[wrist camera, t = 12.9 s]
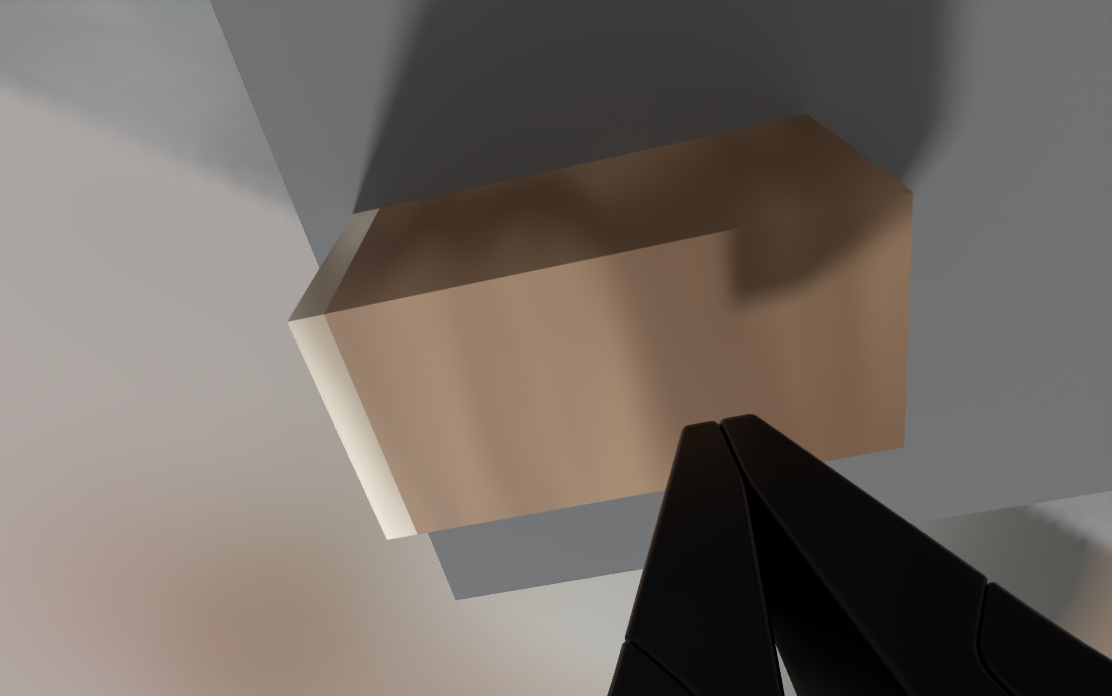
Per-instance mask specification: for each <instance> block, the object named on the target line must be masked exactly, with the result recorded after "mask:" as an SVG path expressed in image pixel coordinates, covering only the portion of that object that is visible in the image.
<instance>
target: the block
mask: <svg viewBox="0 0 1112 696" xmlns="http://www.w3.org/2000/svg"><path fill="white" fill-rule="evenodd" d="M912 213H913V191H911V190H910V189H908V188H907V187H906V186H904V185H903V184H902V183H900V182H899V181H898V180H896V179H895V178H893V177H892V176H891V175H889V174H888V173H887V172H885V171H884V170H883V169H881V168H880V167H878V166H877V165H876V164H874V163H873V162H872V161H870V160H869V159H868V158H866V157H865V156H863V155H862V154H861V153H859V152H858V151H857V150H855V149H854V148H853V147H851V146H850V145H848V144H847V143H846V142H844V141H843V140H842V139H840V138H839V137H838V136H836V135H835V134H833V133H832V132H831V131H829V130H828V129H827V128H825V127H824V126H823V125H821V124H820V123H818V122H817V121H816V120H814V119H813V118H812V117H810V116H809V115H808V114H807V115H803V116H798V117H794V118H789V119H784V120H780V121H775V122H771V123H766V124H762V125H757V126H753V127H748V128H743V129H739V130H734V131H730V132H725V133H721V134H716V135H711V136H707V137H702V138H698V139H693V140H689V141H684V142H679V143H675V144H670V145H666V146H661V147H657V148H652V149H648V150H643V151H638V152H634V153H629V154H625V155H620V156H616V157H611V158H606V159H602V160H597V161H593V162H588V163H584V164H579V165H574V166H570V167H565V168H561V169H556V170H552V171H547V172H542V173H538V174H533V175H529V176H524V177H520V178H515V179H511V180H506V181H501V182H497V183H492V184H488V185H483V186H479V187H474V188H469V189H465V190H460V191H456V192H451V193H447V194H442V195H437V196H433V197H428V198H424V199H419V200H415V201H410V202H406V203H401V204H396V205H392V206H387V207H383V208H378V209H374V210H369V211H364V212H360V213H355V214H352V216H351V217H350V219H349V221H348V222H347V224H346V226H345V227H344V229H343V231H342V232H341V234H340V236H339V237H338V239H337V241H336V242H335V244H334V245H333V247H332V249H331V250H330V252H329V254H328V255H327V257H326V259H325V260H324V262H323V264H322V265H321V267H320V269H319V270H318V272H317V274H316V275H315V277H314V279H313V280H312V282H311V284H310V285H309V287H308V289H307V290H306V292H305V294H304V295H303V297H302V298H301V300H300V302H299V303H298V305H297V307H296V308H295V310H294V312H293V313H292V315H291V317H290V318H289V320H288V325H289V327H290V329H291V331H292V333H293V336H294V338H295V340H296V342H297V344H298V347H299V349H300V351H301V353H302V355H303V357H304V360H305V361H306V364H307V366H308V368H309V371H310V373H311V375H312V377H313V379H314V381H315V384H316V386H317V388H318V390H319V392H320V395H321V397H322V399H323V401H324V403H325V405H326V408H327V410H328V412H329V414H330V416H331V419H332V421H333V423H334V425H335V427H336V430H337V432H338V434H339V436H340V438H341V440H342V443H343V445H344V447H345V449H346V451H347V454H348V456H349V458H350V460H351V462H352V464H353V466H354V469H355V471H356V473H357V475H358V478H359V480H360V482H361V484H362V486H363V488H364V491H365V493H366V495H367V497H368V499H369V502H370V504H371V506H372V508H373V510H374V512H375V515H376V517H377V519H378V521H379V523H380V526H381V527H382V530H383V532H384V534H385V536H386V539H387V540H389V539H395V538H400V537H406V536H411V535H417V534H422V533H428V532H434V531H439V530H445V529H451V528H456V527H462V526H467V525H473V524H479V523H484V522H490V521H495V520H501V519H507V518H512V517H518V516H523V515H529V514H534V513H540V512H546V511H551V510H557V509H562V508H568V507H574V506H579V505H585V504H590V503H596V502H602V501H607V500H613V499H618V498H624V497H629V496H635V495H641V494H646V493H652V492H657V491H663V490H665V489H666V485H667V482H668V478H669V474H670V471H671V467H672V463H673V460H674V456H675V452H676V449H677V445H678V442H679V438H680V434H681V431H682V429H683V427H685V426H686V425H690V424H696V423H701V422H707V421H715V422H717V423H718V424H719V423H720V421H721V420H722V419H724V418H728V417H734V416H739V415H744V414H754V415H757V416H758V417H760V418H761V419H763V420H764V421H765V422H767V423H768V424H770V425H771V426H773V427H774V428H775V429H777V430H778V431H780V432H781V433H783V434H784V435H785V436H787V437H788V438H790V439H791V440H793V441H794V442H795V443H797V444H798V445H800V446H801V447H803V448H804V449H805V450H807V451H808V452H810V453H811V454H813V455H814V456H815V457H817V458H818V459H820V460H821V461H822V462H825V461H831V460H836V459H842V458H847V457H853V456H859V455H864V454H870V453H875V452H881V451H887V450H892V449H898V448H903V447H904V441H905V413H906V384H907V356H908V327H909V299H910V270H911V242H912Z"/></svg>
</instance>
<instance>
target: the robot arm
mask: <svg viewBox="0 0 1112 696" xmlns="http://www.w3.org/2000/svg"><path fill="white" fill-rule="evenodd" d="M625 641H626V642H624V643H623V644H622V648H621V651H620V655H619V658H618V662H617V666H616V669H615V673H614V676H613V679H612V682H611V686H610V689H609V692H608V695H607V696H785V694H784V689H783V683H782V678H781V672H780V667H779V661H778V657H777V650H776V646H777V648H778V651H779V653H780V656H781V658H782V660H783V663H784V665H785V667H786V670H787V672H788V675H789V677H790V680H791V682H792V684H793V687H794V689H795V692H796V694H797V696H1112V660H1111V659H1110V658H1108V657H1107V656H1105V655H1103V654H1102V653H1100V652H1098V651H1097V650H1095V649H1093V648H1092V647H1090V646H1089V645H1087V644H1085V643H1084V642H1082V641H1081V640H1079V639H1078V638H1076V637H1074V636H1073V635H1072V634H1070V633H1069V632H1067V631H1066V630H1064V629H1063V628H1061V627H1060V626H1058V625H1057V624H1055V623H1054V622H1052V621H1051V620H1049V619H1048V618H1046V617H1045V616H1043V615H1041V614H1040V613H1039V612H1037V611H1036V610H1034V609H1033V608H1031V607H1030V606H1028V605H1027V604H1025V603H1024V602H1023V601H1021V600H1020V599H1018V598H1017V597H1015V596H1014V595H1013V594H1011V593H1010V592H1008V591H1007V590H1005V589H1004V588H1003V587H1001V586H1000V585H998V584H997V583H995V582H990V583H989V584H988V578H987V577H986V576H985V575H984V574H982V573H981V572H979V571H978V570H976V569H975V568H974V567H972V566H971V565H969V564H968V563H966V562H965V561H964V560H962V559H961V558H959V557H958V556H956V555H955V554H954V553H952V552H951V551H949V550H948V549H946V548H945V547H944V546H942V545H941V544H939V543H938V542H936V541H935V540H934V539H932V538H931V537H929V536H928V535H926V534H925V533H923V532H922V531H921V530H919V529H918V528H916V527H915V526H914V525H912V524H911V523H909V522H908V521H907V520H905V519H904V518H902V517H901V516H899V515H898V514H897V513H895V512H894V511H892V510H891V509H889V508H888V507H887V506H885V505H884V504H882V503H881V502H880V501H878V500H877V499H875V498H874V497H872V496H871V495H870V494H868V493H867V492H865V491H864V490H862V489H861V488H860V487H858V486H857V485H855V484H854V483H852V482H851V481H850V480H848V479H847V478H845V477H844V476H842V475H841V474H840V473H838V472H837V471H835V470H834V469H832V468H831V467H830V466H828V465H827V464H825V463H824V462H822V461H821V460H820V459H818V458H817V457H815V456H814V455H813V454H811V453H810V452H808V451H807V450H805V449H804V448H803V447H801V446H800V445H798V444H797V443H795V442H794V441H793V440H791V439H790V438H788V437H787V436H785V435H784V434H783V433H781V432H780V431H778V430H777V429H775V428H774V427H773V426H771V425H770V424H768V423H767V422H765V421H764V420H763V419H761V418H760V417H758V416H757V415H754V414H744V415H739V416H734V417H728V418H724V419H722V420H721V421H720V423H719V424H718V423H717V422H715V421H707V422H701V423H696V424H690V425H686V426H685V427H683V429H682V431H681V434H680V438H679V442H678V445H677V449H676V452H675V456H674V460H673V463H672V467H671V471H670V474H669V478H668V482H667V485H666V489H665V492H664V496H663V500H662V503H661V507H660V511H659V514H658V518H657V522H656V525H655V529H654V532H653V536H652V540H651V543H650V547H649V551H648V554H647V558H646V562H645V565H644V569H643V572H642V576H641V580H640V584H639V587H638V591H637V594H636V598H635V602H634V605H633V609H632V613H631V616H630V620H629V624H628V627H627V631H626V635H625ZM775 644H776V645H775Z"/></svg>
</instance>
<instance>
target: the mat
mask: <svg viewBox="0 0 1112 696" xmlns="http://www.w3.org/2000/svg"><path fill="white" fill-rule="evenodd" d="M210 2H211V4H212V7H213V9H214V11H215V14H216V16H217V19H218V21H219V24H220V26H221V29H222V31H223V33H224V36H225V38H226V41H227V43H228V46H229V48H230V50H231V53H232V55H233V58H234V60H235V63H236V65H237V68H238V70H239V72H240V75H241V77H242V80H243V82H244V85H245V87H246V90H247V92H248V94H249V97H250V99H251V102H252V104H253V107H254V109H255V112H256V114H257V116H258V119H259V121H260V124H261V126H262V129H263V131H264V133H265V136H266V138H267V141H268V143H269V146H270V148H271V151H272V153H273V155H274V158H275V160H276V163H277V165H278V168H279V170H280V173H281V175H282V177H283V180H284V182H285V185H286V187H287V190H288V192H289V194H290V197H291V199H292V202H293V204H294V207H295V209H296V212H297V214H298V216H299V219H300V221H301V224H302V226H303V229H304V231H305V234H306V236H307V238H308V241H309V243H310V246H311V248H312V251H313V253H314V255H315V258H316V260H317V263H318V265H319V268H320V267H321V265H322V264H323V262H324V260H325V259H326V257H327V255H328V254H329V252H330V250H331V249H332V247H333V245H334V244H335V242H336V241H337V239H338V237H339V236H340V234H341V232H342V231H343V229H344V227H345V226H346V224H347V222H348V221H349V219H350V217H351V216H352V214H355V213H360V212H364V211H369V210H374V209H378V208H383V207H387V206H392V205H396V204H401V203H406V202H410V201H415V200H419V199H424V198H428V197H433V196H437V195H442V194H447V193H451V192H456V191H460V190H465V189H469V188H474V187H479V186H483V185H488V184H492V183H497V182H501V181H506V180H511V179H515V178H520V177H524V176H529V175H533V174H538V173H542V172H547V171H552V170H556V169H561V168H565V167H570V166H574V165H579V164H584V163H588V162H593V161H597V160H602V159H606V158H611V157H616V156H620V155H625V154H629V153H634V152H638V151H643V150H648V149H652V148H657V147H661V146H666V145H670V144H675V143H679V142H684V141H689V140H693V139H698V138H702V137H707V136H711V135H716V134H721V133H725V132H730V131H734V130H739V129H743V128H748V127H753V126H757V125H762V124H766V123H771V122H775V121H780V120H784V119H789V118H794V117H798V116H803V115H807V114H808V115H809V116H810V117H812V118H813V119H814V120H816V121H817V122H818V123H820V124H821V125H823V126H824V127H825V128H827V129H828V130H829V131H831V132H832V133H833V134H835V135H836V136H838V137H839V138H840V139H842V140H843V141H844V142H846V143H847V144H848V145H850V146H851V147H853V148H854V149H855V150H857V151H858V152H859V153H861V154H862V155H863V156H865V157H866V158H868V159H869V160H870V161H872V162H873V163H874V164H876V165H877V166H878V167H880V168H881V169H883V170H884V171H885V172H887V173H888V174H889V175H891V176H892V177H893V178H895V179H896V180H898V181H899V182H900V183H902V184H903V185H904V186H906V187H907V188H908V189H910V190H911V191H913V213H912V242H911V270H910V299H909V327H908V356H907V384H906V413H905V441H904V447H903V448H898V449H892V450H887V451H881V452H875V453H870V454H864V455H859V456H853V457H847V458H842V459H836V460H831V461H825V462H824V463H825V464H827V465H828V466H830V467H831V468H832V469H834V470H835V471H837V472H838V473H840V474H841V475H842V476H844V477H845V478H847V479H848V480H850V481H851V482H852V483H854V484H855V485H857V486H858V487H860V488H861V489H862V490H864V491H865V492H867V493H868V494H870V495H871V496H872V497H874V498H875V499H877V500H878V501H880V502H881V503H882V504H884V505H885V506H887V507H888V508H889V509H891V510H892V511H894V512H895V513H897V514H898V515H899V516H901V517H902V518H904V519H905V520H907V521H908V522H909V523H911V524H914V523H920V522H925V521H931V520H937V519H943V518H949V517H955V516H961V515H967V514H973V513H979V512H985V511H991V510H997V509H1003V508H1009V507H1015V506H1021V505H1027V504H1033V503H1039V502H1045V501H1051V500H1057V499H1063V498H1069V497H1075V496H1081V495H1087V494H1093V493H1099V492H1105V491H1111V490H1112V0H210ZM664 492H665V490H663V491H657V492H652V493H646V494H641V495H635V496H629V497H624V498H618V499H613V500H607V501H602V502H596V503H590V504H585V505H579V506H574V507H568V508H562V509H557V510H551V511H546V512H540V513H534V514H529V515H523V516H518V517H512V518H507V519H501V520H495V521H490V522H484V523H479V524H473V525H467V526H462V527H456V528H451V529H445V530H439V531H434V532H428V534H429V536H430V538H431V541H432V543H433V546H434V548H435V551H436V553H437V556H438V558H439V560H440V563H441V565H442V568H443V570H444V573H445V575H446V577H447V580H448V582H449V585H450V587H451V590H452V592H453V595H454V597H455V599H456V600H459V599H465V598H471V597H477V596H483V595H489V594H495V593H501V592H507V591H513V590H519V589H525V588H531V587H537V586H543V585H549V584H555V583H561V582H567V581H572V580H579V579H585V578H591V577H597V576H602V575H609V574H615V573H621V572H627V571H633V570H638V569H644V565H645V562H646V558H647V554H648V551H649V547H650V543H651V540H652V536H653V532H654V529H655V525H656V522H657V518H658V514H659V511H660V507H661V503H662V500H663V496H664Z"/></svg>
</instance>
